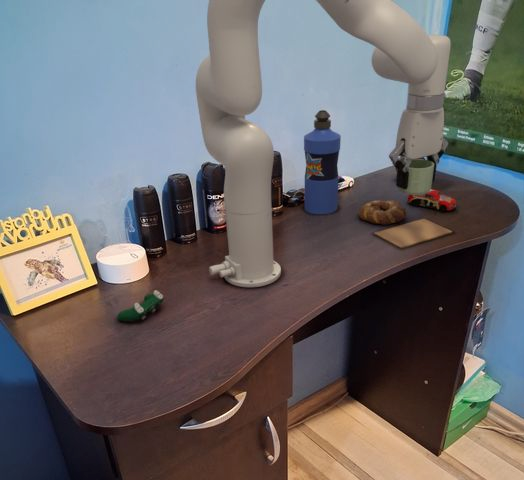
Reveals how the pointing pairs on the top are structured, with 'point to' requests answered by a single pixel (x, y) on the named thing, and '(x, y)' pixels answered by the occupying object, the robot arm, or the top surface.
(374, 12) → the robot arm
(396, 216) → the seeded bagel
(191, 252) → the top surface
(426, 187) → the green cup
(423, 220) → the cork mat
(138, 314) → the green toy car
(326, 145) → the water bottle
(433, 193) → the race car
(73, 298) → the top surface
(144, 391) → the top surface
